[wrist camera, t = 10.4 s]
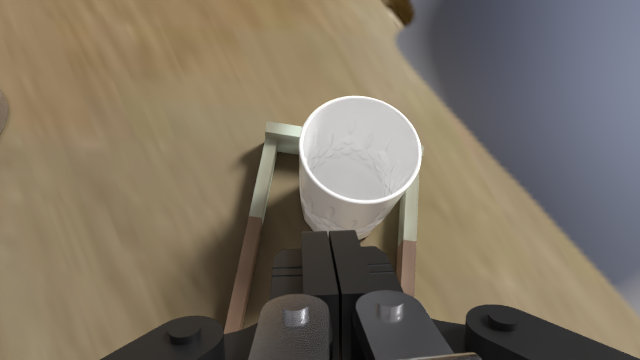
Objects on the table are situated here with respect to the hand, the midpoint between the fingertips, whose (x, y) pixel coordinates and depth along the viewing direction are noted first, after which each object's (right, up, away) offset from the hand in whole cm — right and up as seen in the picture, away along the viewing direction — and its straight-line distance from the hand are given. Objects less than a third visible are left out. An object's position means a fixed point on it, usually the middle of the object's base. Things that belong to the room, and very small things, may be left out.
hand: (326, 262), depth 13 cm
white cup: (+2, 0, +26) cm, 26 cm away
